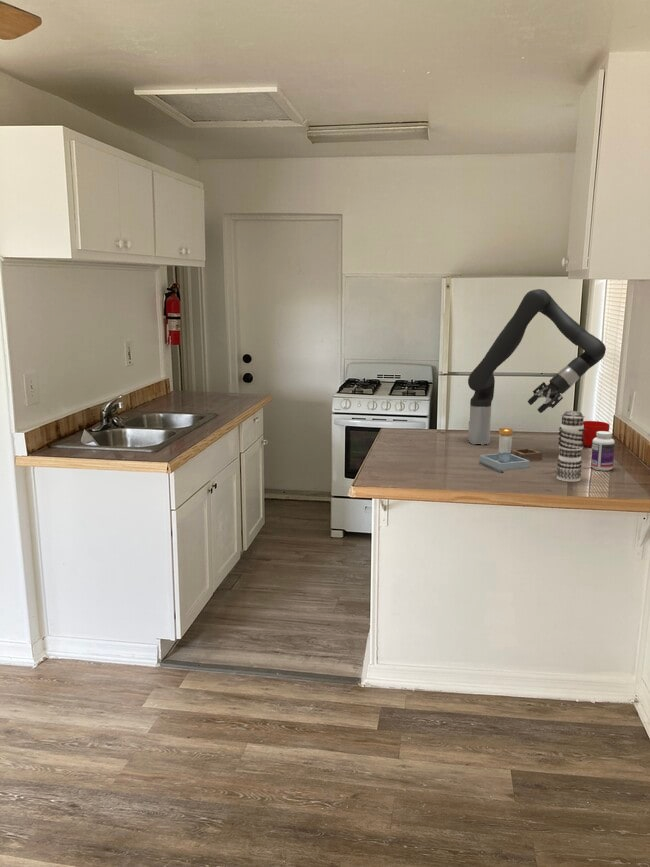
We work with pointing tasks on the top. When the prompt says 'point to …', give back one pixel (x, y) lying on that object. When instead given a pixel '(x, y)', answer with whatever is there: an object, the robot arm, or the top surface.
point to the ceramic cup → (593, 431)
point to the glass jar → (505, 445)
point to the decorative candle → (570, 446)
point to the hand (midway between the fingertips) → (533, 407)
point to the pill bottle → (602, 451)
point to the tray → (493, 463)
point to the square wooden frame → (527, 454)
